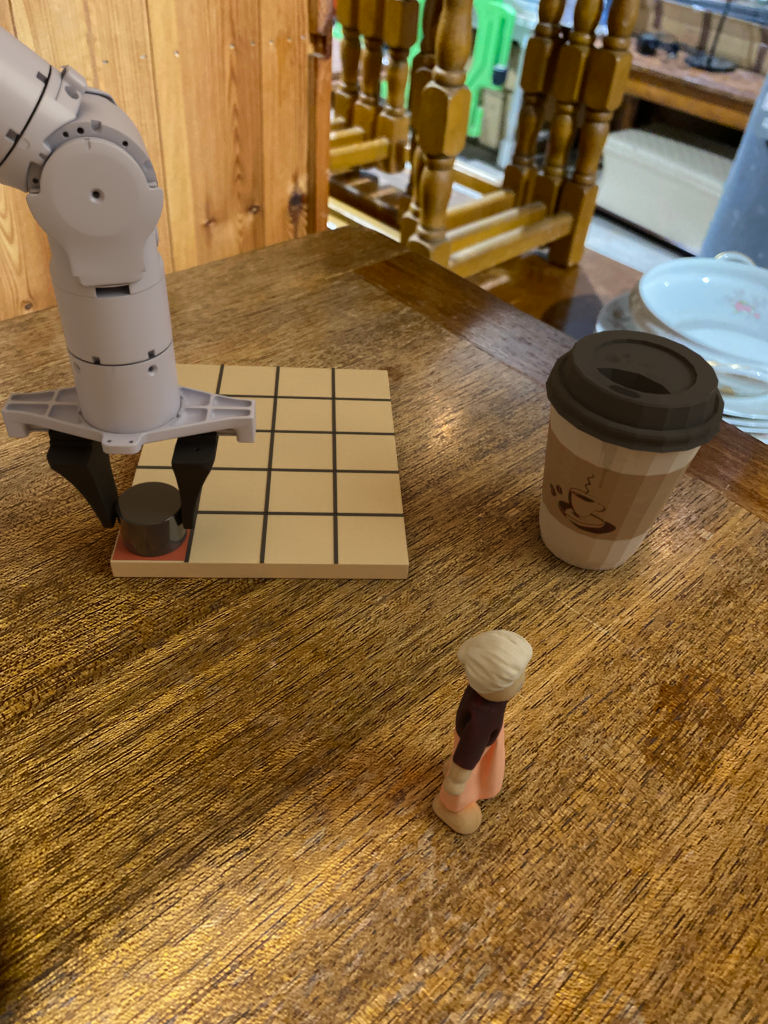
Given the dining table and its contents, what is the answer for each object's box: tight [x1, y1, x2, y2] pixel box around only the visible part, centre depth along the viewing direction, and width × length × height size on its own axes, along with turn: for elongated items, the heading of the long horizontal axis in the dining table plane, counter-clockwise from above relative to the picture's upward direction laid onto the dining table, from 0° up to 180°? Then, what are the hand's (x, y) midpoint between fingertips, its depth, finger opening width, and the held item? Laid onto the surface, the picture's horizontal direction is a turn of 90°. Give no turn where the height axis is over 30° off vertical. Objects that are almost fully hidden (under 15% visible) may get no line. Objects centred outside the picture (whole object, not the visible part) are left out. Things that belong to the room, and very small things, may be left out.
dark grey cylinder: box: [115, 482, 188, 557], centre depth 53 cm, size 4×4×3 cm
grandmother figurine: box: [431, 629, 534, 835], centre depth 39 cm, size 8×4×13 cm, turn 171°
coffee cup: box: [538, 329, 725, 571], centre depth 54 cm, size 11×11×15 cm
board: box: [109, 363, 410, 580], centre depth 62 cm, size 20×25×2 cm
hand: (151, 518), depth 53 cm, fingers open, 5 cm apart
